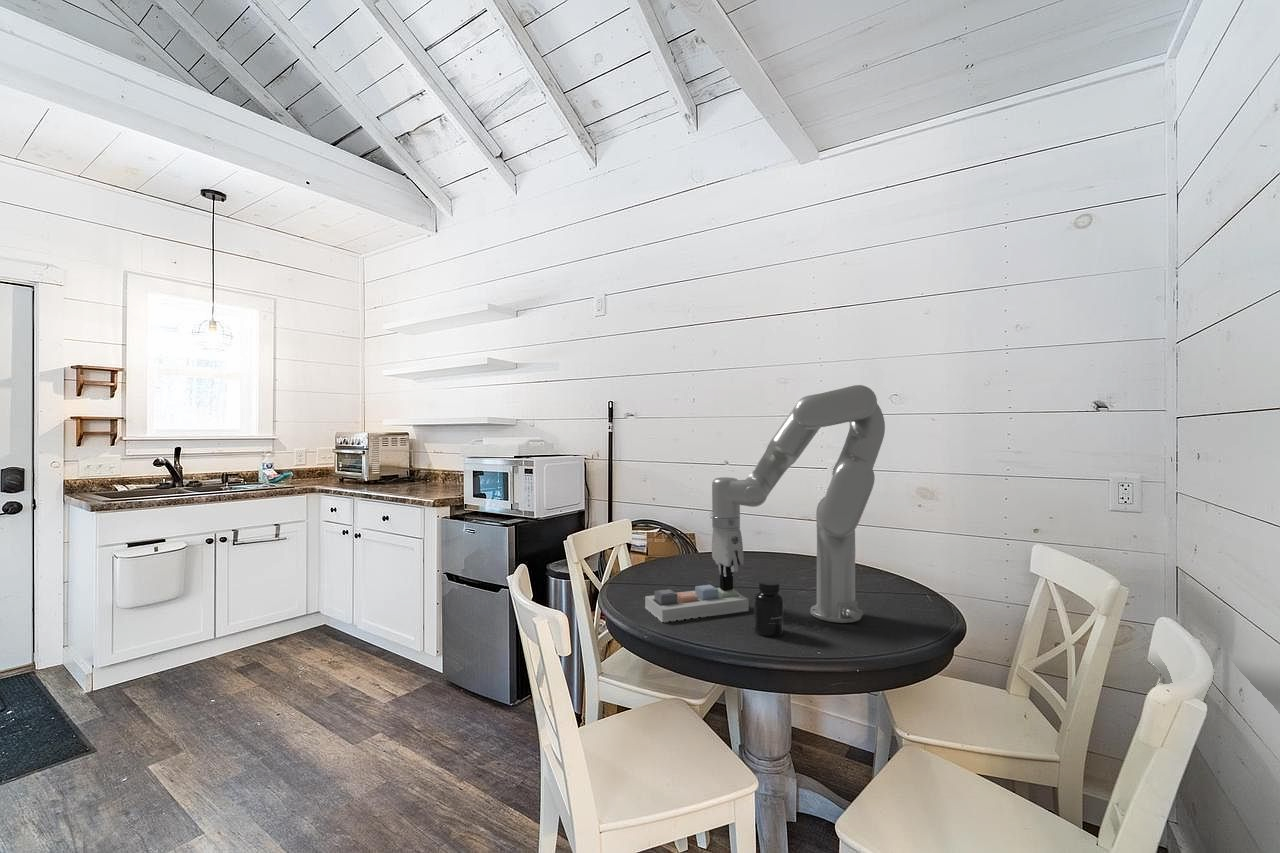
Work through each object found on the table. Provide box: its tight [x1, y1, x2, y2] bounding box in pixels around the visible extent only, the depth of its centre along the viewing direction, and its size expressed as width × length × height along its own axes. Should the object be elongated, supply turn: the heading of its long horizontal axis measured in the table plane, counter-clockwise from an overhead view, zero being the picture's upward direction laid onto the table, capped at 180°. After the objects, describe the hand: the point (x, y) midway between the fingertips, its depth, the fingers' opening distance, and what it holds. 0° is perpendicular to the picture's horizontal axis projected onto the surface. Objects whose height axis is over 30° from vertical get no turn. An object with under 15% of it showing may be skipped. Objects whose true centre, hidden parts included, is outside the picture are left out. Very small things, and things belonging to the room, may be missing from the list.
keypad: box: [644, 587, 750, 623], centre depth 155 cm, size 12×25×3 cm, turn 110°
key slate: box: [694, 584, 718, 601], centre depth 156 cm, size 5×5×3 cm
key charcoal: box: [653, 588, 678, 606], centre depth 152 cm, size 5×5×3 cm
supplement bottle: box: [753, 579, 784, 638], centre depth 138 cm, size 7×7×12 cm
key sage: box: [717, 587, 739, 598], centre depth 158 cm, size 5×5×3 cm
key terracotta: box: [676, 591, 698, 603], centre depth 154 cm, size 5×5×3 cm
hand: (726, 589), depth 158 cm, fingers closed
